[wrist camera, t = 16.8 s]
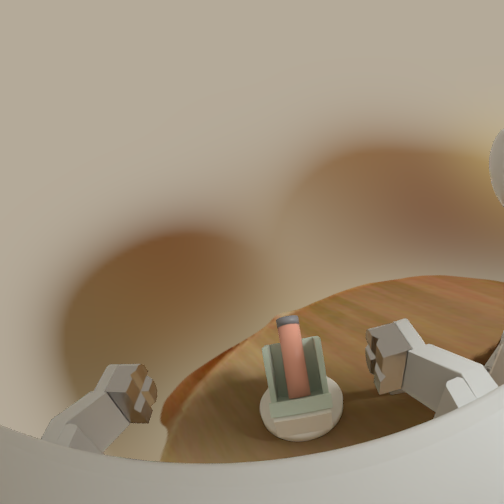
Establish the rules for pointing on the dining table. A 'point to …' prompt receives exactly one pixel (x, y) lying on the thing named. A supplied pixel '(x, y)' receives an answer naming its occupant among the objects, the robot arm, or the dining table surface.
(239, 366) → the dining table surface
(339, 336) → the dining table surface
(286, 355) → the marker
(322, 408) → the green holder stand
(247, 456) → the dining table surface
